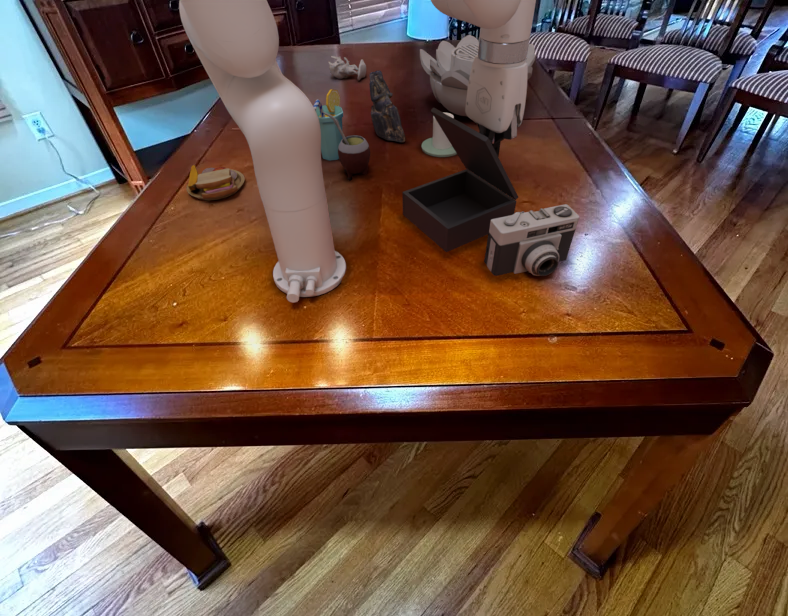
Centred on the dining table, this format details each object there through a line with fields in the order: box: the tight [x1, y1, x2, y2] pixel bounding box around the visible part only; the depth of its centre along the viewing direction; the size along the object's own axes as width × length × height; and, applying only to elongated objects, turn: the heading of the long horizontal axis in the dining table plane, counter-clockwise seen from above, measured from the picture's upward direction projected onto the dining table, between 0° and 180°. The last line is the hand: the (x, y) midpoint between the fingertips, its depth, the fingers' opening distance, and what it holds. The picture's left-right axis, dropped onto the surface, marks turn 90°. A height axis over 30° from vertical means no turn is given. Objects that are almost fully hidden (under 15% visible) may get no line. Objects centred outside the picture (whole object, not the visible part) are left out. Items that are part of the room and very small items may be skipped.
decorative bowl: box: [419, 34, 537, 118], centre depth 120 cm, size 30×30×15 cm
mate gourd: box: [322, 111, 371, 182], centre depth 97 cm, size 8×8×15 cm
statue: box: [368, 69, 406, 143], centre depth 110 cm, size 6×12×15 cm, turn 39°
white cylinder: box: [432, 111, 455, 150], centre depth 108 cm, size 5×5×7 cm
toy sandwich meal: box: [185, 164, 246, 201], centre depth 98 cm, size 12×14×5 cm
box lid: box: [430, 107, 519, 201], centre depth 80 cm, size 16×15×1 cm
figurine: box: [328, 55, 367, 82], centre depth 145 cm, size 9×6×12 cm
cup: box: [312, 88, 344, 161], centre depth 103 cm, size 14×8×15 cm, turn 169°
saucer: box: [421, 136, 457, 158], centre depth 110 cm, size 10×10×1 cm
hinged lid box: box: [401, 168, 517, 253], centre depth 86 cm, size 16×15×6 cm
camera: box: [483, 203, 580, 277], centre depth 74 cm, size 14×8×10 cm, turn 106°
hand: (488, 160), depth 82 cm, fingers closed
